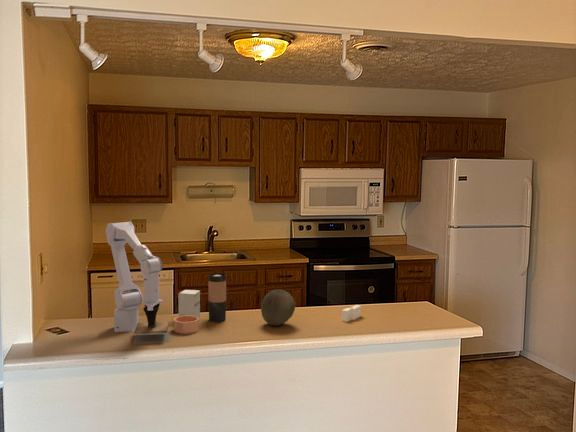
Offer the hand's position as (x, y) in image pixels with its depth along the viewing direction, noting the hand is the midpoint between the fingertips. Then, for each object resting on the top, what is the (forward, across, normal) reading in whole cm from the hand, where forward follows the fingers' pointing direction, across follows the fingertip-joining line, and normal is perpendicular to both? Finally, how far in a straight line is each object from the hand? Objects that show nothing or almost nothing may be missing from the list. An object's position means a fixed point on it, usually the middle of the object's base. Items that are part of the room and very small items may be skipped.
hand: (151, 323), depth 208 cm
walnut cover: (+2, 0, 0) cm, 2 cm away
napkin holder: (+6, +16, -84) cm, 86 cm away
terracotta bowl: (+6, +8, -13) cm, 16 cm away
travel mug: (+6, +22, -26) cm, 35 cm away
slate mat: (+6, 0, 0) cm, 6 cm away
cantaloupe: (+6, +11, -51) cm, 53 cm away
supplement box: (+6, +23, -14) cm, 28 cm away
